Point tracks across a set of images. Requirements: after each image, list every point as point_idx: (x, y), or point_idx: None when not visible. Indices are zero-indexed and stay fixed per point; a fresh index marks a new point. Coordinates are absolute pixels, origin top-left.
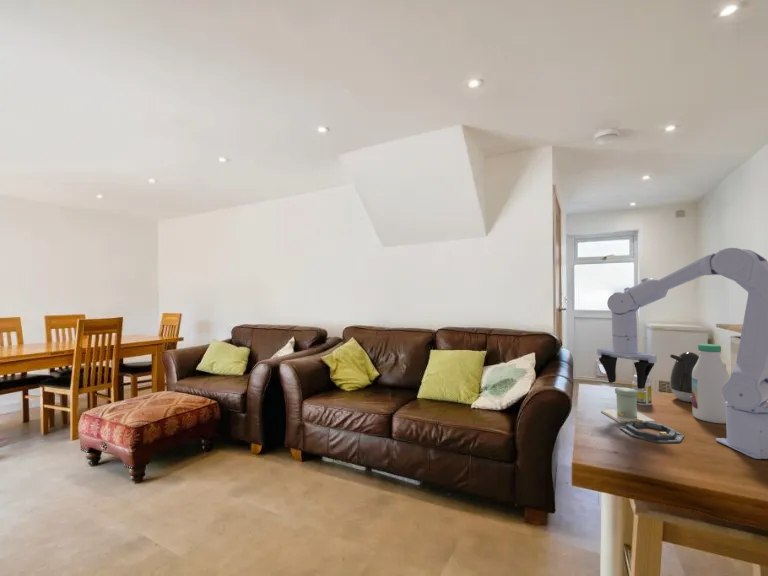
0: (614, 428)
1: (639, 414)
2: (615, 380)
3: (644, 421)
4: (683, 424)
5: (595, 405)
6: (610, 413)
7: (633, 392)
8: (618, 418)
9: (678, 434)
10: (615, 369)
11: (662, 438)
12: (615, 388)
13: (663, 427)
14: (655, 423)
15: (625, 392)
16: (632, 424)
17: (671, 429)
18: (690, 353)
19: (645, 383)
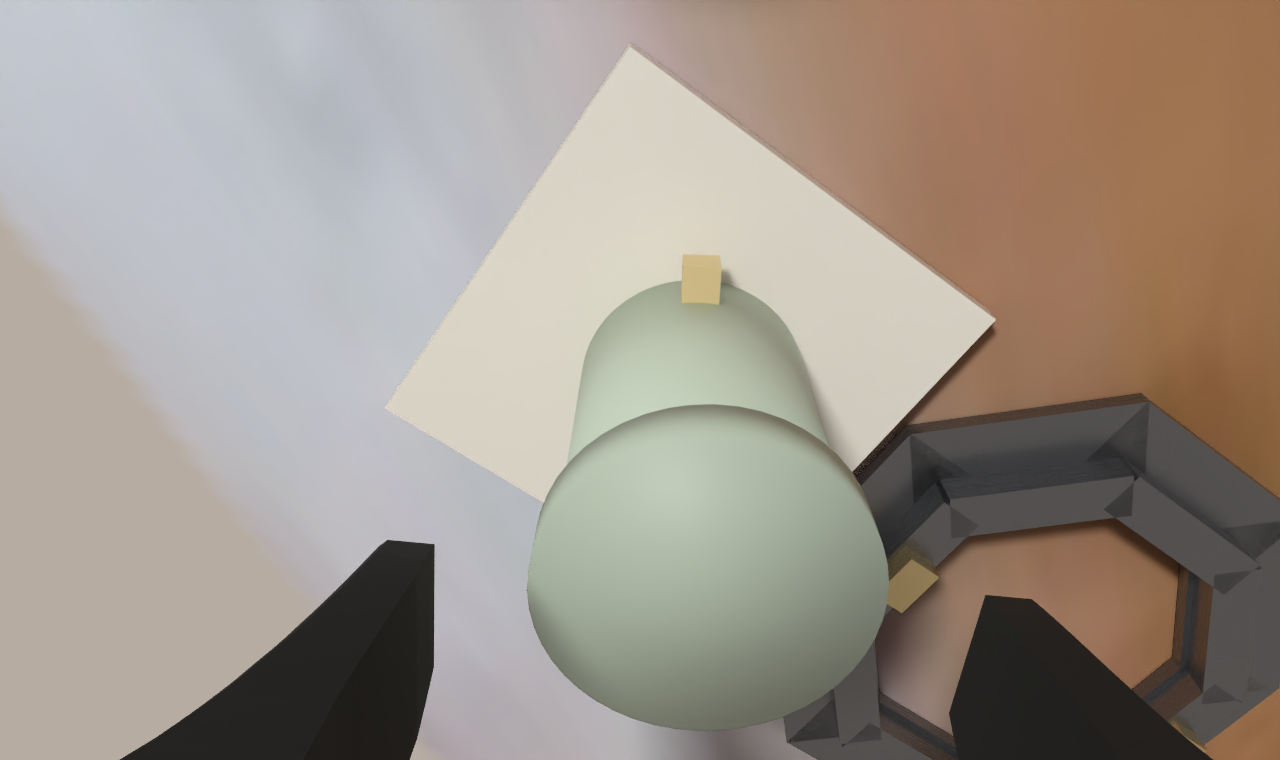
0: (745, 743)
1: (781, 218)
2: (425, 552)
3: (943, 531)
4: (1275, 80)
5: (168, 179)
6: (532, 456)
7: (853, 651)
8: None
9: (1258, 542)
10: (334, 707)
11: None
12: (538, 628)
13: (1128, 523)
14: (1050, 508)
15: (758, 722)
16: (876, 684)
17: (1214, 565)
18: None
19: (1085, 653)
